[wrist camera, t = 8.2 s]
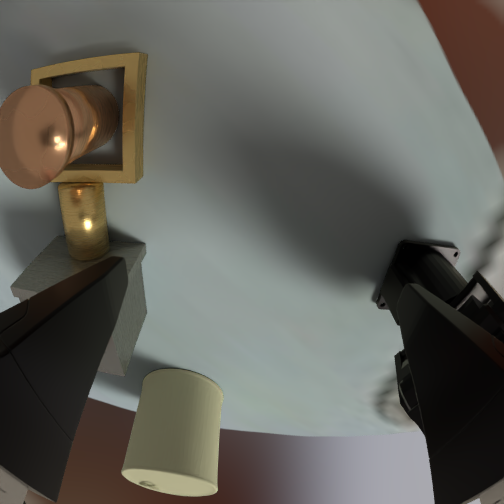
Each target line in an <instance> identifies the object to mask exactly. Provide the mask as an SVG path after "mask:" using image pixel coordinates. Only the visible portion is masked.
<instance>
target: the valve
mask: <svg viewBox="0 0 504 504" xmlns="http://www.w3.org/2000/svg"><path fill="white" fill-rule="evenodd" d="M58 192H59V200H60V207H61V213H62V219H63V225H64V231H65V236H66V237H64V236H57V237H56V238H55V239H54V240H53V241H52V242H51V243H50V244H49V245H48V246H47V247H46V248H45V249H44V250H43V251H42V252H41V253H40V254H39V255H38V256H37V257H36V258H35V259H34V260H33V262H32V263H31V264H30V265H29V266H28V267H27V268H26V269H25V270H24V271H23V273H22V274H21V275H20V276H19V277H18V278H17V279H16V281H15V282H14V283H13V284H12V285H11V286H10V287H11V290H12V293H13V295H14V297H19V299H20V302H22V301H24V300H26V299H29V298H30V297H32V296H34V295H35V294H37V293H39V292H41V291H43V290H45V289H47V288H49V287H51V286H53V285H55V284H56V283H58V282H60V281H62V280H64V279H66V278H68V277H70V276H72V275H74V274H76V273H78V272H80V271H82V270H84V269H86V268H88V267H90V266H92V265H94V264H96V263H98V262H100V261H102V260H104V259H107V258H109V257H111V256H120V257H124V258H125V260H126V266H127V273H128V287H127V290H126V293H125V297H124V300H123V303H122V306H121V310H120V313H119V316H118V320H117V323H116V326H115V328H114V331H113V333H112V336H111V338H110V340H109V343H108V345H107V348H106V350H105V353H104V355H103V358H102V360H101V363H100V365H99V368H98V370H97V371H100V372H104V373H109V374H114V375H119V376H124V377H125V374H126V371H127V368H128V365H129V362H130V359H131V356H132V353H133V350H134V347H135V345H136V342H137V339H138V336H139V333H140V331H141V328H142V325H143V322H144V320H145V317H146V314H147V308H146V301H145V293H144V285H143V277H142V267H141V262H142V260H143V258H144V257H145V255H146V244H142V243H131V242H120V241H109V237H108V229H107V220H106V210H105V199H104V186H103V182H62V183H60V184H59V186H58Z"/></svg>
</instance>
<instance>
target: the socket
mask: <svg viewBox="0 0 504 504" xmlns="http://www.w3.org/2000/svg"><path fill="white" fill-rule="evenodd" d="M147 58H148V55H147V54H143V53H139V52H138V53H126V54H116V55H107V56H100V57H93V58H86V59H80V60H74V61H69V62H64V63H59V64H54V65H49V66H45V67H41V68H37V69H33V70H31V85H38V84H39V85H47V86H50V87H52V78H54V77H60V76H65V75H71V74H77V73H84V72H91V71H99V70H108V69H119V68H125V76H124V94H123V164H67V166H66V167H65V169H64V170H63V171H62V173H61V174H60V175H59V176H58V177H57V178H55V179H54V180H52V181H51V182H103V183H136V182H137V181H138V180H139V179H141V178H142V177H143V125H144V99H145V83H146V69H147Z"/></svg>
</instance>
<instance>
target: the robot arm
mask: <svg viewBox="0 0 504 504" xmlns="http://www.w3.org/2000/svg"><path fill="white" fill-rule="evenodd" d="M404 246H406V247H405V248H404V249H403V247H404ZM455 252H456V253H455ZM454 253H455V254H454ZM459 256H460V250H459V249H458V248H457V247H452V246H445V245H438V244H431V243H424V242H416V241H409V240H403V241H401V242H400V243H399V244H398V247H397V250H396V253H395V255H394V258H393V261H392V264H391V266H390V267H389V269H388V272H387V275H386V277H385V280H384V282H383V285H382V287H381V290H380V294H379V297H378V299H377V302H376V304H377V307H378V308H379V309H388V310H390V312H391V314H392V316H393V318H394V320H395V322H396V323H397V325H400V329H401V334H402V339H403V344H404V349H403V350H402V351H399V352H398V353H397V354H396V355H395V356H394V357H395V365H396V373H397V382H398V392H399V398H400V404H401V406H402V407H403V408H404V410H405V411H406V413H407V414H408V416H409V417H410V418H411V419H412V420H413V421H414V422H415V423H416V424H417V425H418V426H419V428H420V429H421V431H422V432H423V434H424V435H425V438H426V443H427V449H428V455H429V458H430V459H429V462H430V469H431V475H432V483H433V491H434V500H435V504H467V503H469V502H471V501H473V500H475V499H477V498H480V502H481V504H504V299H503V298H502V297H501V296H500V295H499V293H498V292H497V291H496V290H495V289H494V288H493V287H492V286H491V285H490V283H489V282H488V281H487V280H486V279H485V278H484V277H483V276H482V275H481V274H480V273H479V272H478V271H476V272H475V274H474V275H473V278H472V279H471V280H470V281H469V283H467V282H466V280H465V279H464V278H463V277H462V276H461V274H460V273H459V272H458V271H457V270H456V269H455V265H456V263H457V260H458V258H459ZM127 287H128V273H127V266H126V260H125V258H124V257H120V256H111V257H109V258H107V259H104V260H102V261H100V262H98V263H96V264H94V265H92V266H90V267H88V268H86V269H84V270H82V271H80V272H78V273H76V274H74V275H72V276H70V277H68V278H66V279H64V280H62V281H60V282H58V283H56V284H55V285H53V286H51V287H49V288H47V289H45V290H43V291H41V292H39V293H37V294H35V295H34V296H32V297H30V298H29V299H26V300H24V301H22V302H21V303H19V304H17V305H15V306H13V307H11V308H9V309H7V310H5V311H3V312H1V313H0V504H26V503H25V501H24V499H25V496H26V493H27V490H28V489H29V490H31V491H33V492H35V493H36V494H38V495H40V496H43V497H44V498H47V499H49V500H51V501H53V502H57V499H58V495H59V491H60V487H61V483H62V479H63V476H64V472H65V468H66V464H67V461H68V457H69V453H70V450H71V447H72V442H73V440H74V436H75V433H76V430H77V427H78V424H79V421H80V418H81V415H82V412H83V409H84V406H85V403H86V400H87V398H88V395H89V392H90V389H91V386H92V384H93V381H94V378H95V376H96V373H97V370H98V368H99V365H100V363H101V360H102V358H103V355H104V353H105V350H106V348H107V345H108V343H109V340H110V338H111V336H112V333H113V331H114V328H115V326H116V323H117V320H118V316H119V313H120V310H121V306H122V303H123V300H124V297H125V293H126V290H127ZM381 303H383V304H381Z"/></svg>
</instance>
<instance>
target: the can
mask: <svg viewBox="0 0 504 504" xmlns="http://www.w3.org/2000/svg"><path fill="white" fill-rule="evenodd" d="M222 402H223V392H222V390H221V389H220V387H219V386H218V385H217V384H216V383H215V382H213V381H212V380H211V379H209V378H207V377H205V376H203V375H201V374H198V373H195V372H192V371H188V370H183V369H172V368H169V369H160V370H156V371H153V372H151V373H149V374H148V375H147V376H146V377H145V378H144V380H143V383H142V392H141V396H140V400H139V404H138V408H137V412H136V417H135V420H134V425H133V429H132V432H131V437H130V441H129V445H128V449H127V454H126V458H125V461H124V465H123V468H122V471H121V472H122V475H123V476H124V477H125V478H127V479H128V480H130V481H131V482H133V483H136V484H138V485H140V486H143V487H145V488H148V489H151V490H155V491H159V492H164V493H168V494H174V495H182V496H206V495H211V494H214V493H216V492H217V490H218V488H217V468H218V449H219V448H218V447H219V431H220V418H221V406H222Z"/></svg>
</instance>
